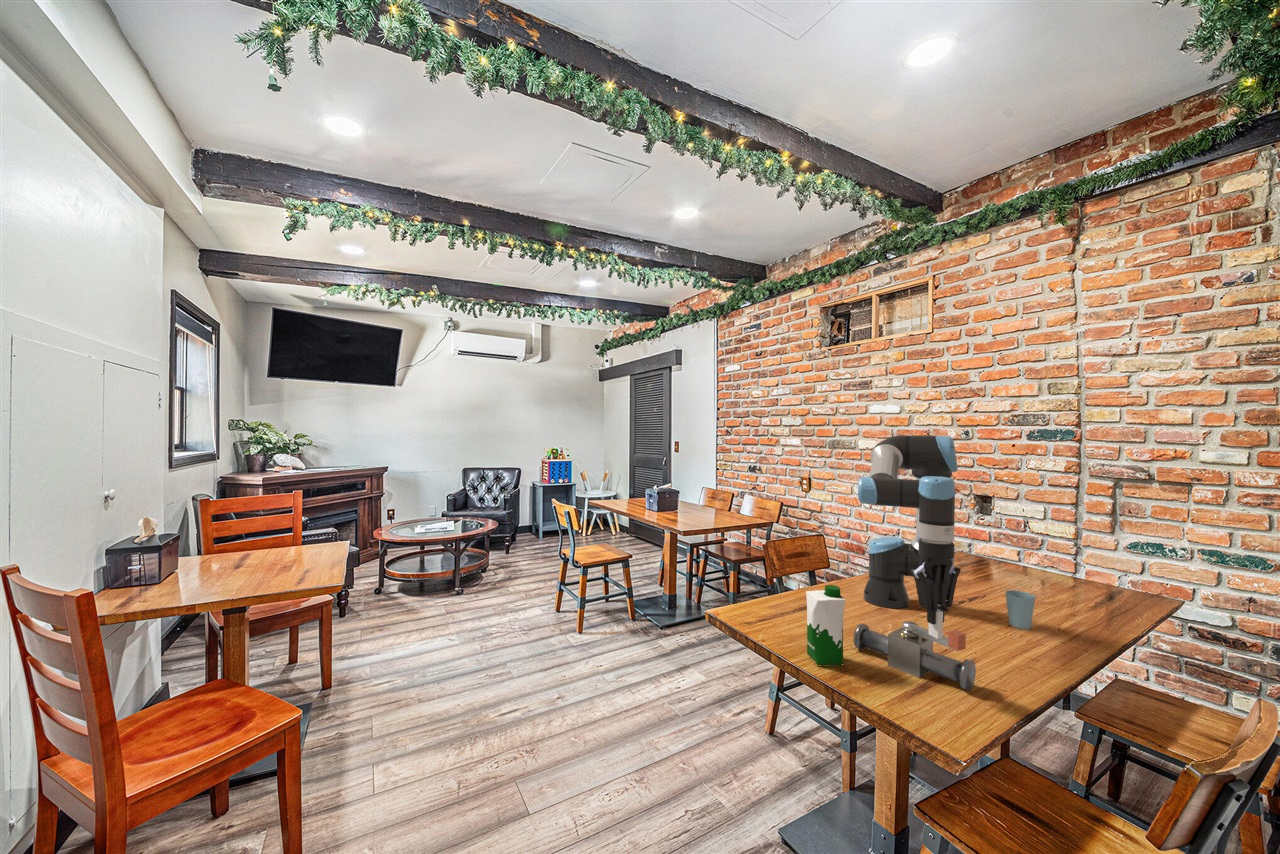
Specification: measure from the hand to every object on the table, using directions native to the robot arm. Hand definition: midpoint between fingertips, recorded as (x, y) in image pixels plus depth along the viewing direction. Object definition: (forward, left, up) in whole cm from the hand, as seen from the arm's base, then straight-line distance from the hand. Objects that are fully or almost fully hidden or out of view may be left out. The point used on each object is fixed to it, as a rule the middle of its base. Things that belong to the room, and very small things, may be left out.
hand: (935, 636), depth 117 cm
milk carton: (-25, -8, -14) cm, 29 cm away
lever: (-3, +6, -4) cm, 7 cm away
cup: (0, +65, -14) cm, 66 cm away
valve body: (-9, +7, -13) cm, 17 cm away
